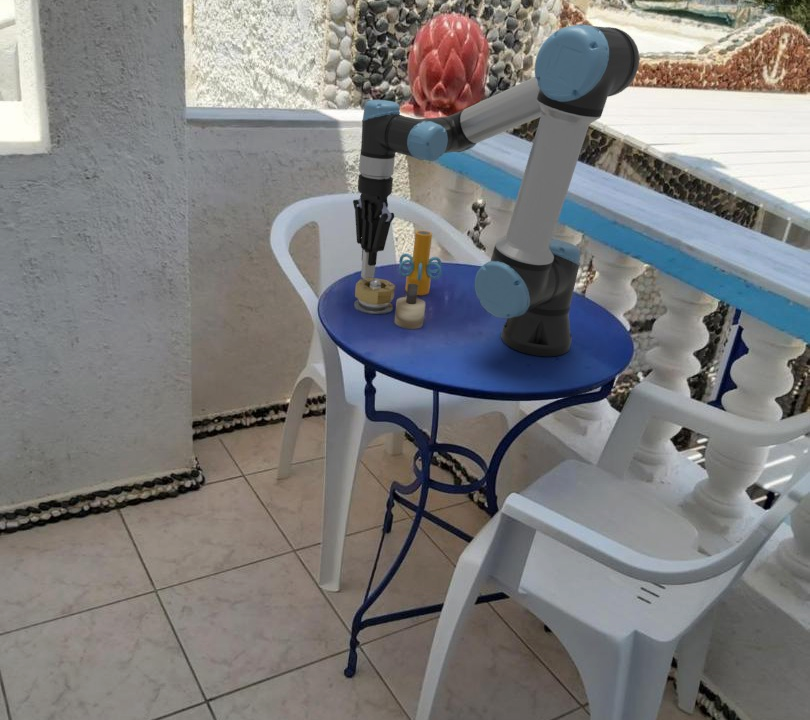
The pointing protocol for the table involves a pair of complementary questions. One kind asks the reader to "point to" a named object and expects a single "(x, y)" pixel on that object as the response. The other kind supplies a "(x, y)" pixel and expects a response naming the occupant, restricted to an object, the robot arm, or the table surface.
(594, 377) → the table surface
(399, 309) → the stand
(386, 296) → the ring
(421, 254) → the cylinder
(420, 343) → the table surface
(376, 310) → the hub
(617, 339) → the table surface
